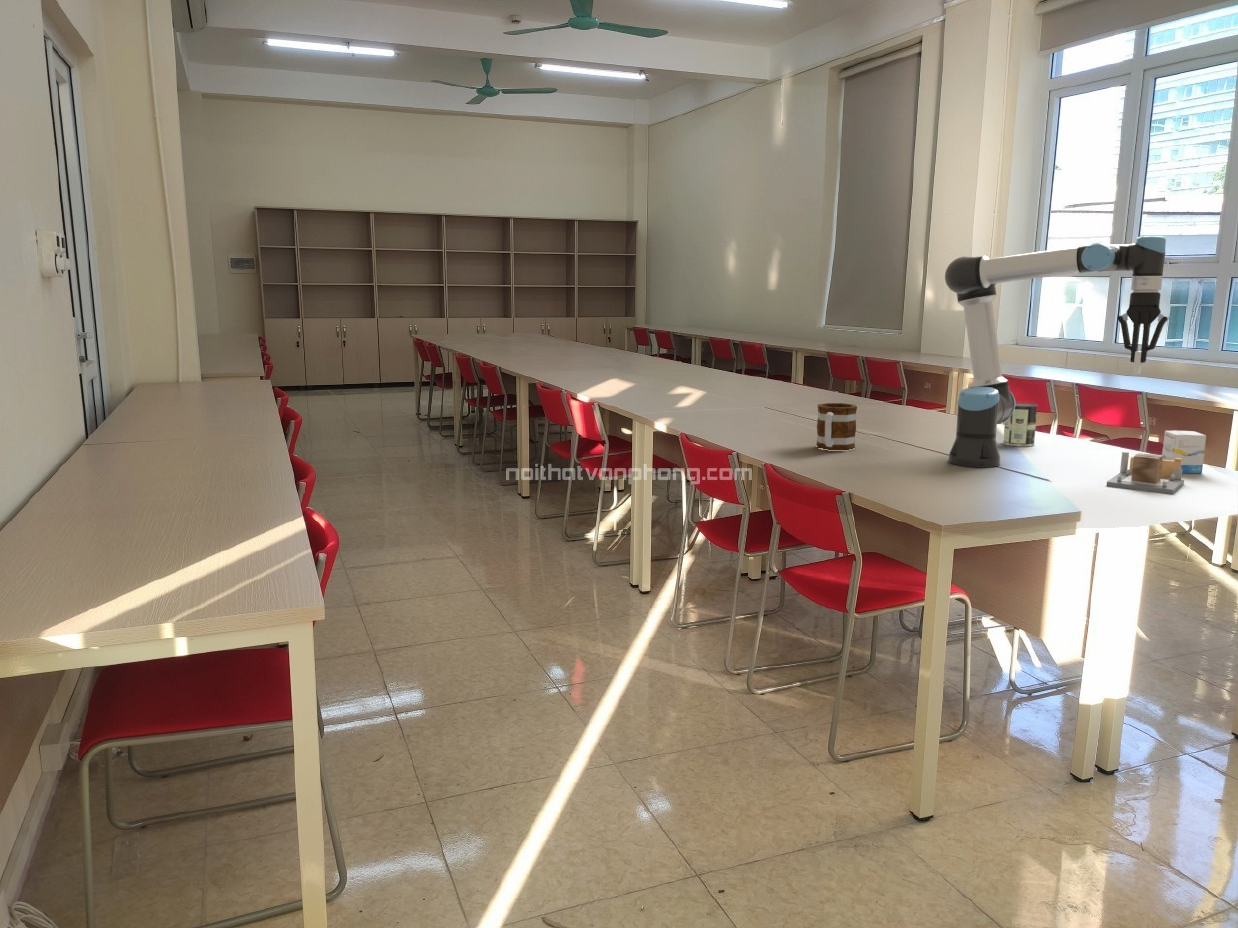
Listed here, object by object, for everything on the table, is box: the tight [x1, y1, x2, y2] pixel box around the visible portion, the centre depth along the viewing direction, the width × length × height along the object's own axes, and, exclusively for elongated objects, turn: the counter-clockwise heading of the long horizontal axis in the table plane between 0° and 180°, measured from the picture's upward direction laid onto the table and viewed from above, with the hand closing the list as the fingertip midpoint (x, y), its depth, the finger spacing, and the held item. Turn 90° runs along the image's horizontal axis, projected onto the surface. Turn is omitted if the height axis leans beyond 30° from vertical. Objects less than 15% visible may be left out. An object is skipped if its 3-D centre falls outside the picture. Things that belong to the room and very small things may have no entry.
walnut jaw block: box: [1131, 452, 1163, 484], centre depth 249 cm, size 6×6×7 cm
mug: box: [815, 402, 858, 450], centre depth 304 cm, size 20×14×15 cm
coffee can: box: [1002, 402, 1039, 447], centre depth 313 cm, size 10×10×14 cm
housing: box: [1106, 451, 1185, 495], centre depth 250 cm, size 16×18×7 cm
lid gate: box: [1128, 456, 1182, 478], centre depth 256 cm, size 12×2×6 cm, turn 54°
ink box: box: [1161, 430, 1207, 474], centre depth 267 cm, size 8×8×12 cm
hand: (1136, 373), depth 261 cm, fingers closed
